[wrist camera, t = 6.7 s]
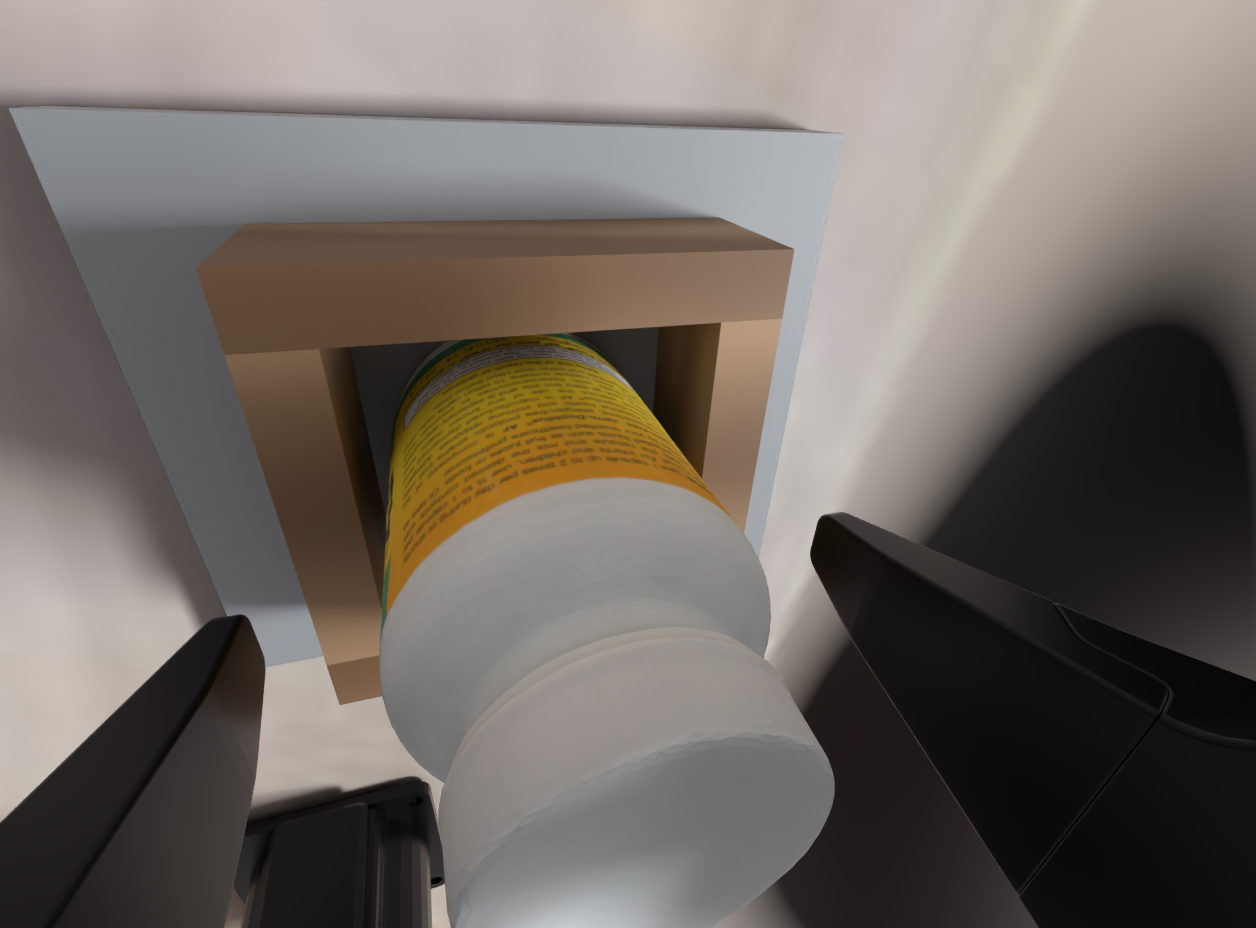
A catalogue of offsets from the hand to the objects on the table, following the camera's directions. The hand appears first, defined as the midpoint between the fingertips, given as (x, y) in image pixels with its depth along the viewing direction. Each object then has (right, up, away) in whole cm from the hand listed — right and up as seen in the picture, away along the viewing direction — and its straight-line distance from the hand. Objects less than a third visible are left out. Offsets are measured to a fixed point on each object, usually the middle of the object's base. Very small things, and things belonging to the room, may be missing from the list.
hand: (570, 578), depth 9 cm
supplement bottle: (-2, +3, +4) cm, 5 cm away
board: (-2, +3, +5) cm, 6 cm away
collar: (-2, +3, +4) cm, 5 cm away
